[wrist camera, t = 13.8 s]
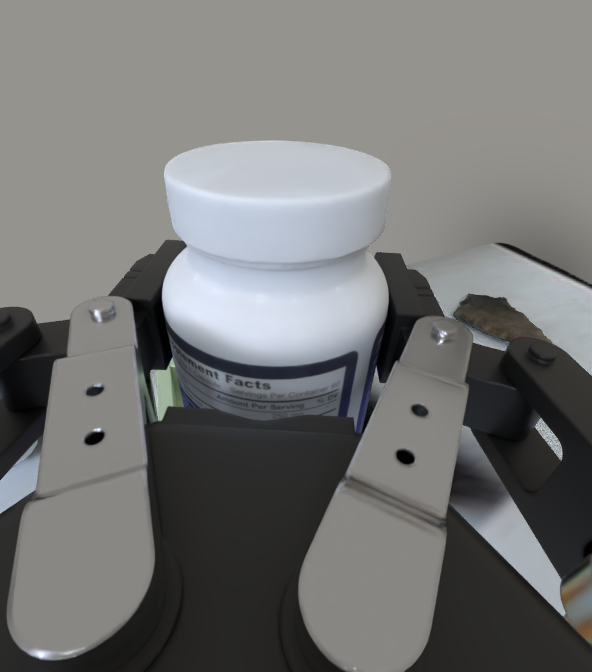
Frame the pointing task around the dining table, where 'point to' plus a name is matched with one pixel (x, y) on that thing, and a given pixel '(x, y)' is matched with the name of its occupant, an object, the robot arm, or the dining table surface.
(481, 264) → the dining table surface
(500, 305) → the arrowhead
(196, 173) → the pill bottle
